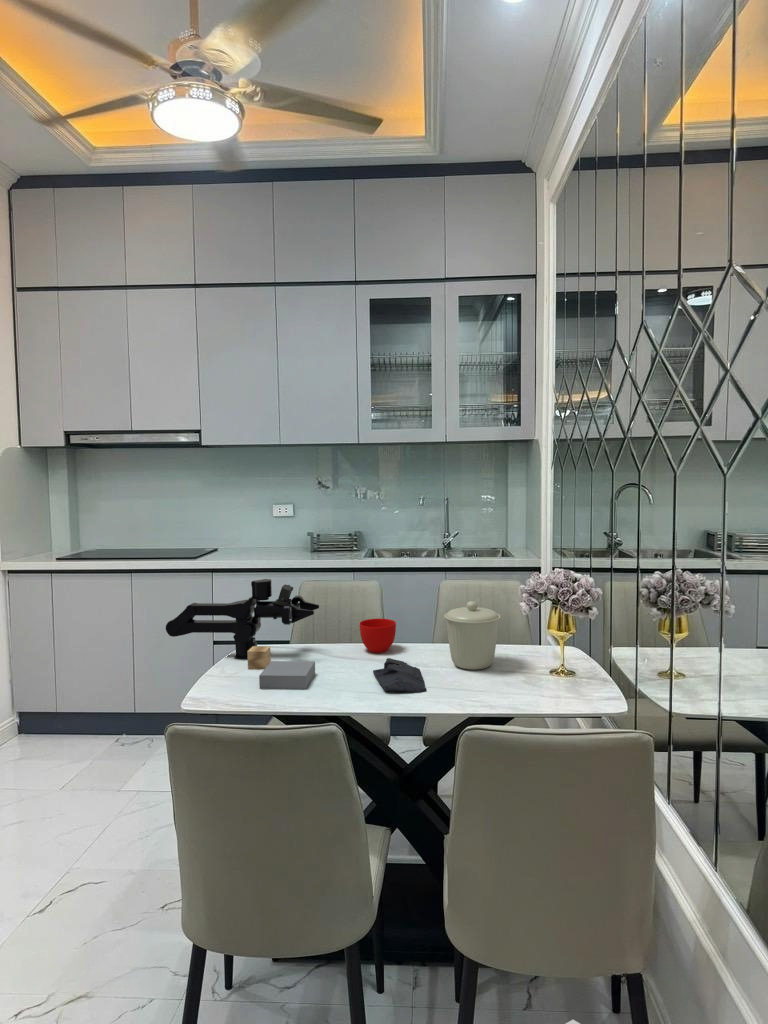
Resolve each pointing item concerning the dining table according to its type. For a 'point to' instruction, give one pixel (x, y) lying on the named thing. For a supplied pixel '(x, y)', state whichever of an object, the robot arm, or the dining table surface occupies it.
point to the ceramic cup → (377, 634)
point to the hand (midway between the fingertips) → (316, 609)
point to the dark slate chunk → (400, 677)
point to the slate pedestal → (287, 675)
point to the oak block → (259, 657)
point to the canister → (472, 636)
